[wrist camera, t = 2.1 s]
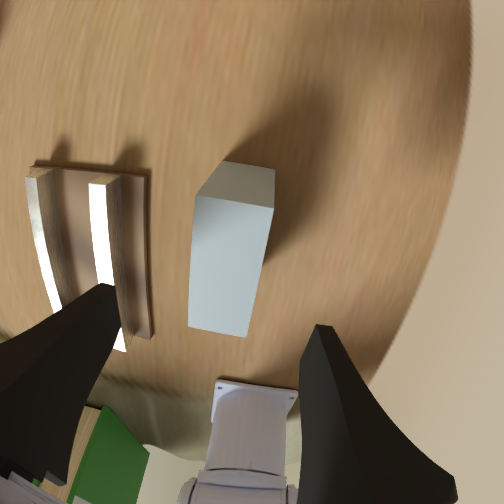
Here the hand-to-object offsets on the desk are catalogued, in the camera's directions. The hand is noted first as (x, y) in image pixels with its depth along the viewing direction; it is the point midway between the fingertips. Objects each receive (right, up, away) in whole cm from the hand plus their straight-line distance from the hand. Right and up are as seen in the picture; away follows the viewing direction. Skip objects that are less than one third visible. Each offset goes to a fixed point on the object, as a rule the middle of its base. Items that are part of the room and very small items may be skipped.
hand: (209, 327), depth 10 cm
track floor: (-11, +2, +10) cm, 15 cm away
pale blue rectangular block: (+1, +4, +8) cm, 9 cm away
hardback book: (-21, -26, +28) cm, 44 cm away
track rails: (-11, +2, +10) cm, 15 cm away
